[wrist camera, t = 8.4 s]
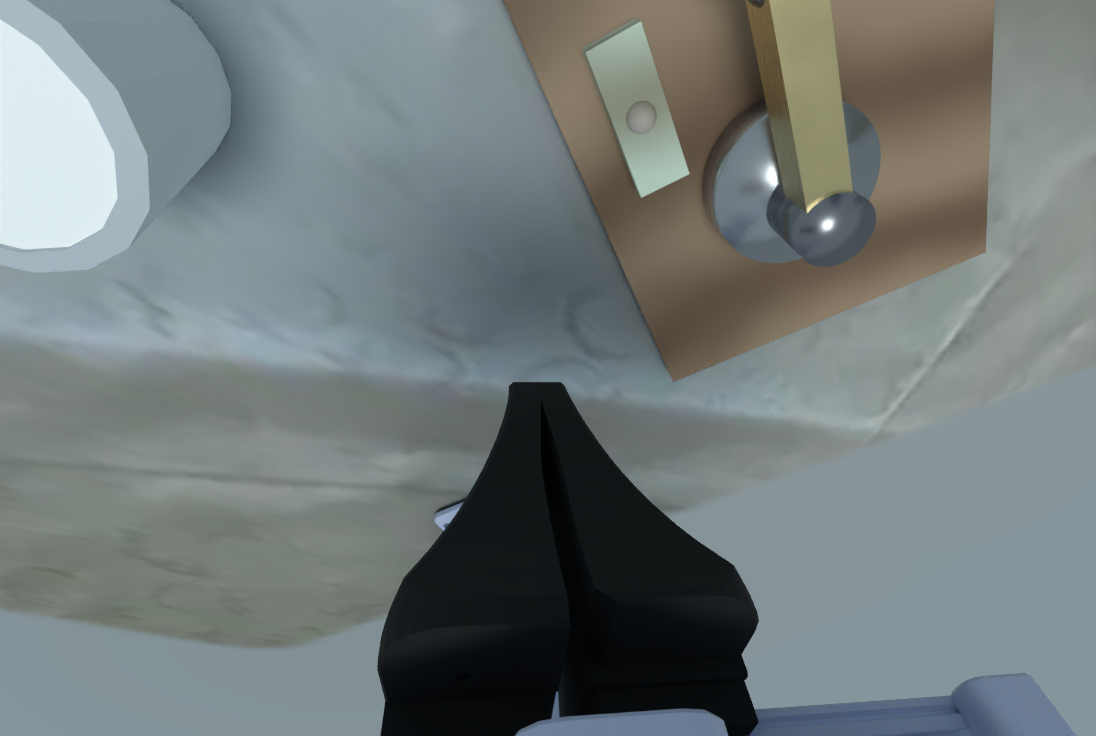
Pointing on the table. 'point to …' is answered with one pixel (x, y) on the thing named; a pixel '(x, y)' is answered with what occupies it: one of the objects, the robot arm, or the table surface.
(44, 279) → the table surface
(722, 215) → the grey and tan lever
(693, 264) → the board
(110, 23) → the white cylinder
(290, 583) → the table surface
